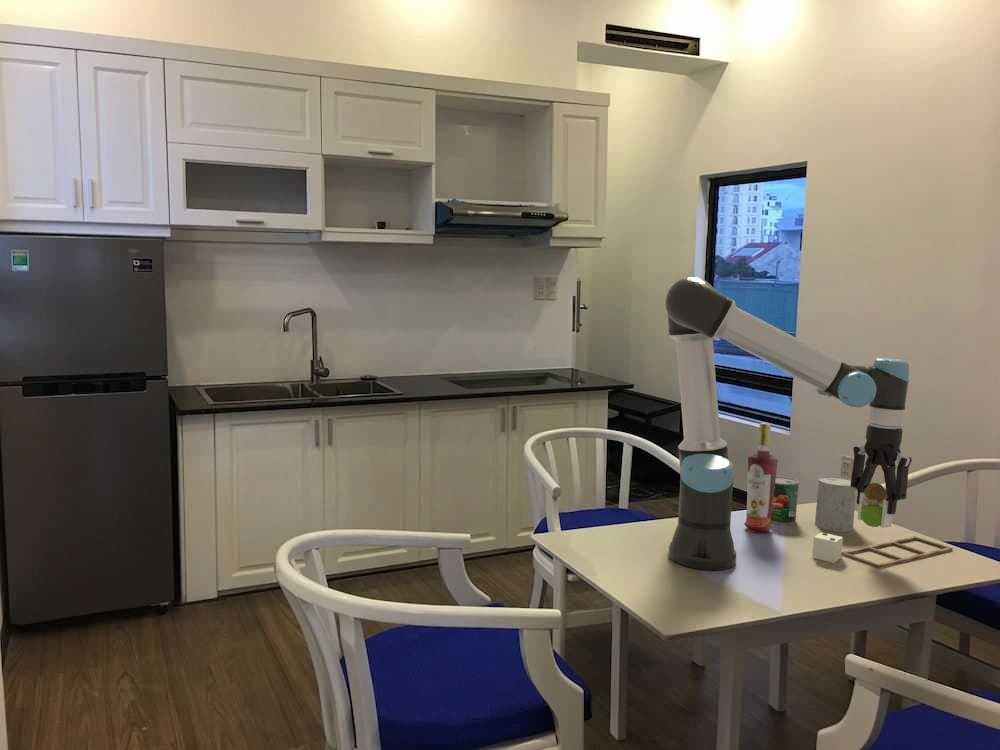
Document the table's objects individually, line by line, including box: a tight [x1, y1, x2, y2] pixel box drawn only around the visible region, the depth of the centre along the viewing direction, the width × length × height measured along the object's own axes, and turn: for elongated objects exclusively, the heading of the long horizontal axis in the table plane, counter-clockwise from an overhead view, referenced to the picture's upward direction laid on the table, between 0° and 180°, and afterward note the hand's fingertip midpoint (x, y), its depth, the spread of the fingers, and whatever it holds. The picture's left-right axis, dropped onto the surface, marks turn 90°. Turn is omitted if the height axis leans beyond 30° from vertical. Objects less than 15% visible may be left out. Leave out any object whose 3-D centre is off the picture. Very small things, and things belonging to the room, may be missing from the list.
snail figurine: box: [861, 482, 887, 528], centre depth 188 cm, size 5×6×12 cm
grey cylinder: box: [814, 476, 857, 533], centre depth 214 cm, size 10×10×12 cm
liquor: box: [743, 422, 779, 534], centre depth 207 cm, size 7×7×28 cm
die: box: [811, 531, 844, 564], centre depth 189 cm, size 5×5×5 cm
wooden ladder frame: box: [841, 535, 954, 569], centre depth 195 cm, size 28×10×1 cm, turn 120°
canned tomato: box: [771, 476, 800, 525], centre depth 218 cm, size 8×8×11 cm
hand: (874, 522), depth 189 cm, fingers closed on snail figurine, 5 cm apart
